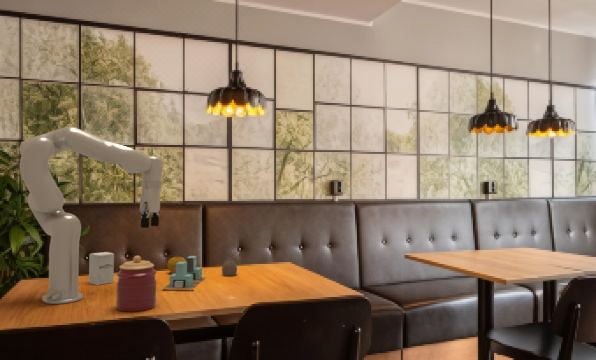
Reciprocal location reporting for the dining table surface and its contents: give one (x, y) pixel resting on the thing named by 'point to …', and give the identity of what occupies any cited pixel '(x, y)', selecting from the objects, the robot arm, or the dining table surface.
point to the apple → (174, 263)
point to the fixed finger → (194, 267)
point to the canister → (136, 285)
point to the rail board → (195, 282)
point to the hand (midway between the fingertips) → (149, 226)
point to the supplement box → (101, 268)
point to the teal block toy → (181, 275)
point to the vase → (229, 267)
